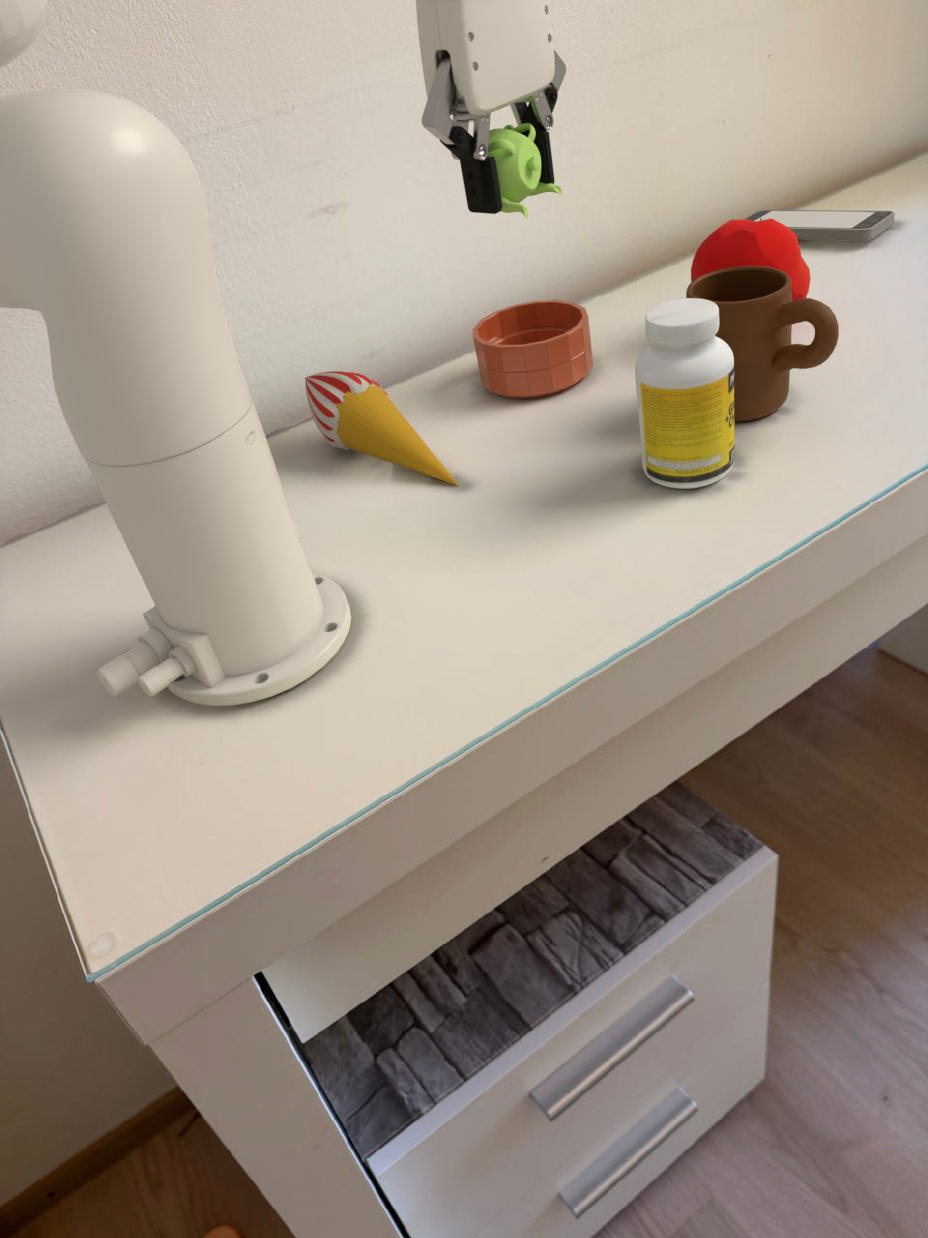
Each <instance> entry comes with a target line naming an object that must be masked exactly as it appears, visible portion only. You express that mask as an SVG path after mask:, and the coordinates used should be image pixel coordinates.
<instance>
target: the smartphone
mask: <svg viewBox="0 0 928 1238" xmlns="http://www.w3.org/2000/svg"><path fill="white" fill-rule="evenodd" d="M895 215H896V211H894V210H862V209H861V210H858V209H857V210H855V209H854V210H852V209H850V210H849V209H848V210H847V209H846V210H845V209H840V210H839V209H760V210H757V211H756V212H754V213H752V214H750V215H749V216H746V217H745V218H744V219H748V220H752V221H755V222H756V221H760V218H761V220H766V219H771V218H772V219H774V220H776V221H778V222H779V223H781V224H783V225H785V226H787V227H788V228H789V229H790V230H791V231H792V232H793V233H795V234H796V235H797V239H798V240H805V241H806V240H811V241H812V240H813V241H841V242H842V241H843V242H844V241H845V242H846V241H848V242H866V241H871V240H872V239H874V238H876V237H877V236H879V235H880V234H881V233H883V232H884V231H886V230H887V229H888V228H890V227H891V226H893V225H894V224H895V217H896V216H895Z"/></svg>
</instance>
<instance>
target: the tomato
mask: <svg viewBox="0 0 928 1238" xmlns="http://www.w3.org/2000/svg"><path fill="white" fill-rule="evenodd" d="M742 266H763V267H770V268H775V269H779V270H781V271H783V272H785V273H786V274H788V276H789V277H790V279H791V291H792V301H796V300H799V299H803V298H808V297H807V296H808V294H809V292H810V285H811V271H810V267H809V266H808V264H807V262H806V261H805V259H804V258H803V256H802V252H801V248H800V243H799V239H797V235H796V234H795V233H793V232H792V231H791V230H790V229H789V228H788V227H787V226H785V225H783V224H781V223H779V222H778V221H776V220H774V219H772V218H771V219H766V220H761V218H760V221H756V222H755V221H752V220H748V219H745V218H742V219H730V220H729V221H727V222H725V223H723V224H722V225H720V226H719V227H718V228H716V230H714V231H713V232H711V233H710V234H709V235H708V236H707V237H706V238H705V239H704V240H703V241H702V242H701V243H700V245H699V246H698V247H697V249H696V251H695V254H694V256H693V259H692V263H691V266H690V283H691V282H692V281H694V280H695V279H697V278H698V277H700V276H703V275H705V274H708V273H710V272H714V271H717V270H721V269H726V268H732V267H742Z"/></svg>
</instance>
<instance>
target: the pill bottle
mask: <svg viewBox="0 0 928 1238" xmlns="http://www.w3.org/2000/svg"><path fill="white" fill-rule="evenodd" d="M718 330H719V308H718V306H717V304H715V303H714V302H712V301H709V300H705V299H698V298H686V297H684V298H677V299H672V300H668V301H664V302H661V303H659V304H658V303H657V304H656V305H654V306H653V307H651V308H650V309H649V310H647V311H646V313H645V315H644V333H645V337H646V340H647V341H648V342H650V344H648V345H647V346H646V347H645V348H644V349H643V350H642V351H641V352H640V353H639V354H638V356H637V358H636V361H635V364H634V376H635V377H634V379H635V388H636V389H635V390H636V400H637V412H638V424H639V438H640V449H641V450H640V452H641V464H642V470H643V473H644V474H645V476H646V477H647V478H648V479H649V480H651V481H652V482H654V483H655V484H658V485H659V486H663V487H666V488H672V489H683V490H684V489H685V490H687V489H696V488H697V489H698V488H702V487H705V486H708V485H712V484H714V483H716V482H718V481H720V480H722V479H723V478H724V477H726V476H727V475H728V474H729V473H730V472H731V470H732V468H733V466H734V463H735V459H736V447H735V446H736V444H735V443H736V442H735V441H736V439H735V434H736V433H735V422H734V357H733V353H732V350H731V348H730V347H729V346H728V344H727V343H726V342H724V341H723V340H722V339H720V338H718V337H716V336H715V334H716V333H717V332H718Z"/></svg>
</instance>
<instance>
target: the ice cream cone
mask: <svg viewBox="0 0 928 1238" xmlns="http://www.w3.org/2000/svg"><path fill="white" fill-rule="evenodd" d="M304 382H305V383H304V384H305V392H306V394H305V395H306V399H307V402H308V406H309V411H310V413H311V417H312V419H313V422H314V423H315V426H316V427H317V429H318V431H319V432H320V433H321V435H322V436H323V438H324V439H325V440H326V441H327V442H328V443H329V444H330V445H331V446H333V447H335V448H339V449H341V450H344V451H351V450H352V451H356V452H359V453H361V454H365V455H368V456H371V457H373V458H377V459H379V460H382V461H385V462H388V463H391V464H394V465H397V466H400V467H402V468H405V469H409V470H412V471H414V472H417V473H419V474H423V475H426V476H428V477H432V478H434V479H437V480H440V481H443V482H447V483H449V484H452V485H455V486H458V487H460V484H459V483H458V482H457V481H456V480H455V478H454V477H453V475H452V474H451V473H450V472H449V471H448V469H447V468H446V467H445V466H444V465H443V463H442V462H441V461H440V459H438V457H437V456H436V455H435V453H434V452H433V451H432V449H430V447H429V446H428V444H427V443H426V442H425V441H424V440H423V439H422V437H421V436H420V435H419V433H417V431H416V430H415V429H414V427H413V426H412V425H411V424H410V422H409V421H408V420H407V419H406V417H405V416H404V415H403V414H402V412H401V411H400V410H399V409H398V408H397V407H396V405H395V404H394V403H393V401H392V400H391V398H390V396H389V394H388V393H387V392H386V391H385V390H383V387H382V386H381V385H380V384H379V383H378V382H377V381H375V380H373V379H370V378H369V377H367V376H365V375H363V374H361V373H358V372H351V371H339V370H337V371H336V370H334V371H322V372H318V373H314V374H311V375H308V376H307V377H305V378H304Z"/></svg>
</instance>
